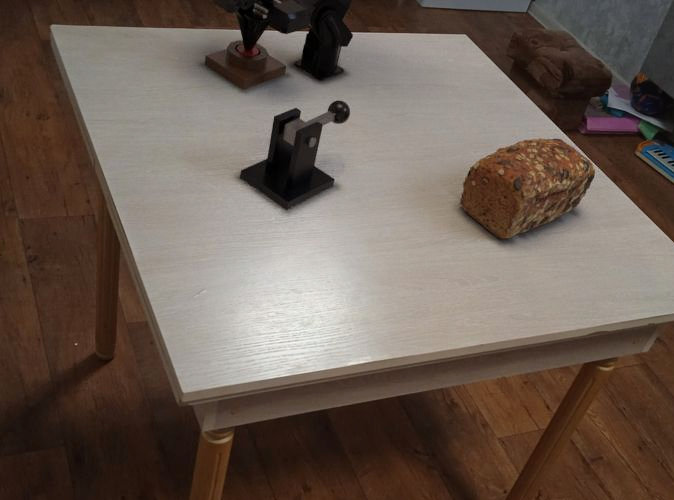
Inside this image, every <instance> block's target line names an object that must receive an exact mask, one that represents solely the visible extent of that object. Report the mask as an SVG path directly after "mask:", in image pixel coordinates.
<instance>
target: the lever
mask: <svg viewBox="0 0 674 500" xmlns="http://www.w3.org/2000/svg"><path fill="white" fill-rule="evenodd" d="M350 116H351V108H350V107H349V104H348V103H347V102H345V101H344V100H340V99H339V100H338V99H337V100H334V101H332V102H331V103H330V104H329V106H328V108H327V111H326V112H324V113H322V114H320V115H317V116H315V117H313V118H311V119H309V120H307V121H304V120H303V119H301V117H300V118H297V119H295V120H293V121H291V122H289V123H286V124H285V127H284V134H283V140H285V141H286V142H288V143H289V144H291V145H292V146H294V140H295V135H296V131H297V130H299V129H301V128H304V127H306V126H308V125H311V124H313V123H315V122H319V123H321V124H322V125H323V126H326V125H327V124H330V123H331V122H332V123H333V124H336V125H341V124H345V123H346V122H347V121H348V120H349V118H350Z"/></svg>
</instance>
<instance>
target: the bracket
mask: <svg viewBox="0 0 674 500" xmlns="http://www.w3.org/2000/svg"><path fill="white" fill-rule="evenodd" d="M301 114H302V110H300V109H299V108H297V107H294V108H291V109H289V110H286V111H284V112H281V113H279V114H276V115H274V116H273V121H272V128H271V133H270V139H269V145H268V150H267V158H266V159H263V160H261V161H259V162H256V163H254V164H252V165H250V166H248V167H245V168H243V169H241V170H240V174H239V178H240V179H242V180H243V181H245V182H246V183H248V184H249V185H250V186H252V187H254V188H255V189H256V190H258V191H259V192H260V193H262V194H264V195H265V196H266V197H268V198H269V199H271V200H272V201H274V202H275V203H276V204H277V205H279V206H280V207H282V208H284V209H285V210H289V209H291V208H293V207H295V206H296V205H298V204H300V203H302V202H305V201H306V200H309V199H311V198H312V197H314V196H316V195H318V194H320V193H322V192H324V191H326V190H327V189H331V188H332V187H334V184H335V178H334V177H332V176H331V175H329V174H327V173H326V172H324V171H323V170H322V169H320V168H318V167H317V166H315V164H316V160H317V155H318V150H319V146H320V140H321V135H322V131H323V127H324V125H322V124H321V123H319V122H315V123H313V124H311V125H308V126H306V127H304V128H301V129H299V130H297V131H296V135H295V140H294V146H292V145H291V144H289V143H288V142H286V141H285V140H283V134H284V127H285V124H286V123H289V122H291V121H293V120H295V119H297V118H300V119H301Z"/></svg>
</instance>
